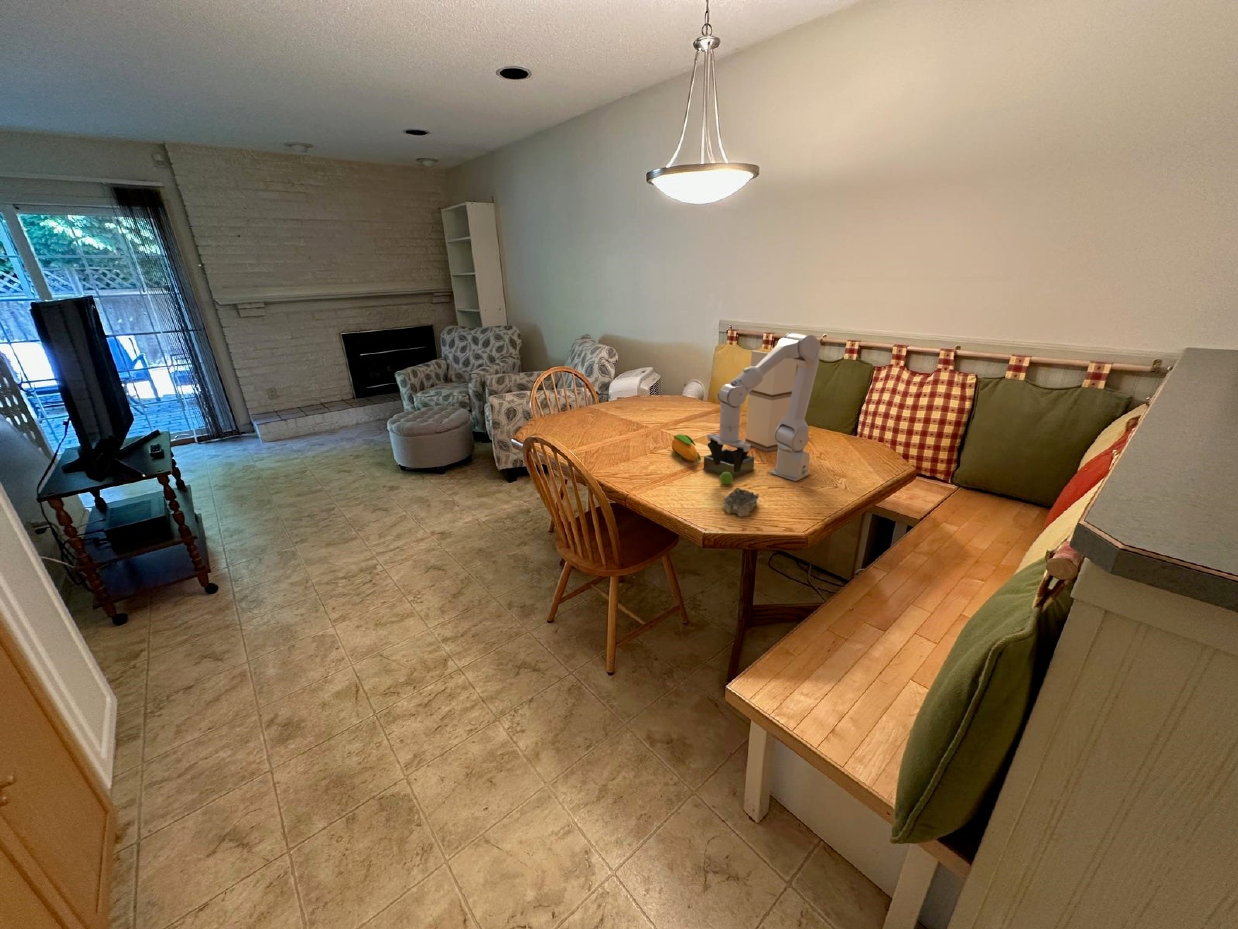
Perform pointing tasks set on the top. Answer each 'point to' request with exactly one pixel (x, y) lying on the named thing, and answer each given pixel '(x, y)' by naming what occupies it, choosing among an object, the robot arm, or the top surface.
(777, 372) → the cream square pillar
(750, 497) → the gray rock
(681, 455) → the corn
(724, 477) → the pea
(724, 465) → the dark grey open box
